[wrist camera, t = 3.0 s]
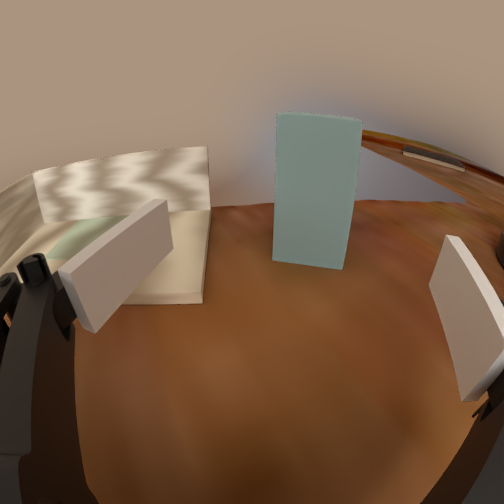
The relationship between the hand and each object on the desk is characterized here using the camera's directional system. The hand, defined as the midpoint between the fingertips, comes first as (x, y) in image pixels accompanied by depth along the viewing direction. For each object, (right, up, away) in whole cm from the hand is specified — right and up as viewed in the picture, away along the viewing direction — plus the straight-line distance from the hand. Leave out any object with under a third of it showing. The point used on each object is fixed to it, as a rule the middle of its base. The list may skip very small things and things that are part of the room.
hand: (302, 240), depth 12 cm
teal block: (+3, 0, +14) cm, 14 cm away
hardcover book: (+61, +31, +67) cm, 96 cm away
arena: (-18, 0, +13) cm, 22 cm away
